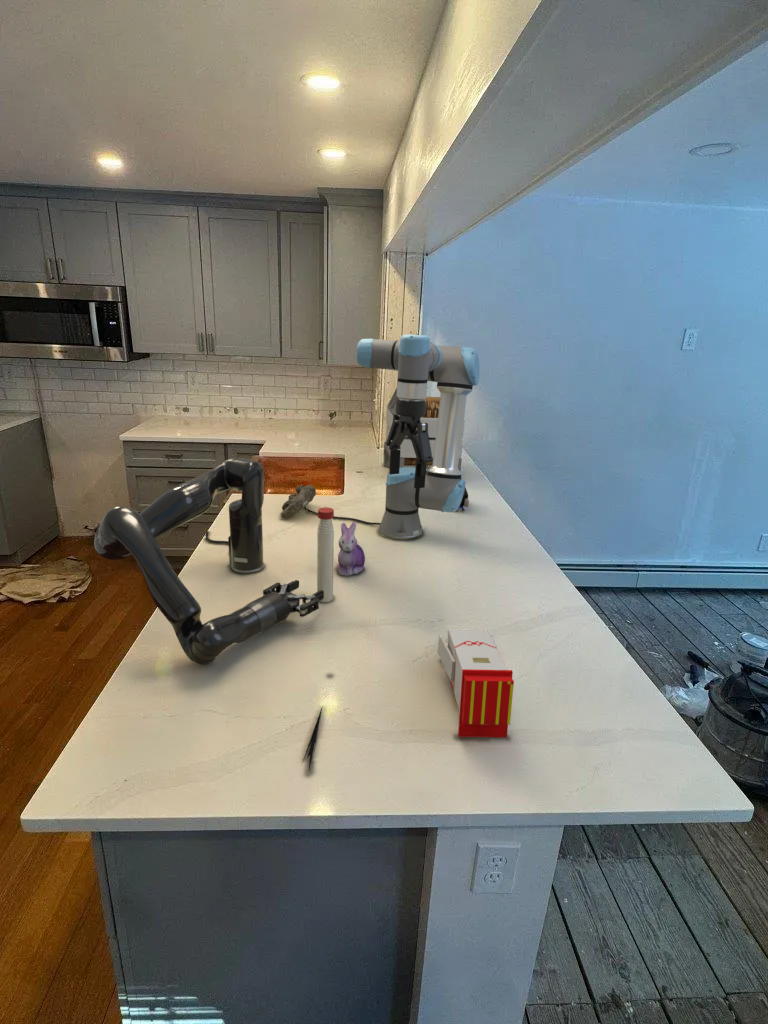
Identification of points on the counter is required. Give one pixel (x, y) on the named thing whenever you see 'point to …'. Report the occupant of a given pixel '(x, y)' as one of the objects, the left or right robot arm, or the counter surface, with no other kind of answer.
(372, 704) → the counter surface
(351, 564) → the figurine
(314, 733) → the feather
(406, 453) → the white slatted crate
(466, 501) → the figurine character
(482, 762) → the counter surface
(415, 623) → the counter surface
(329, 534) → the bottle
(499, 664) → the toy
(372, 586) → the counter surface
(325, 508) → the cap
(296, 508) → the fossil
